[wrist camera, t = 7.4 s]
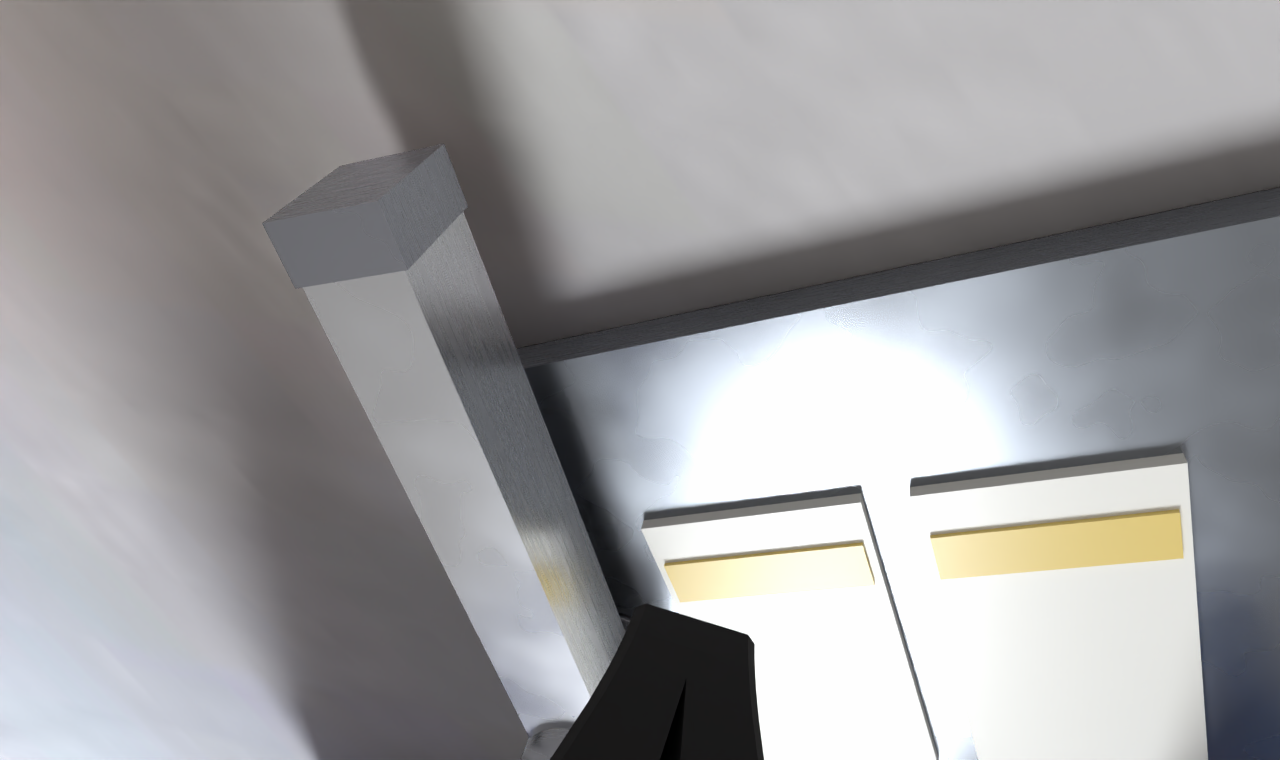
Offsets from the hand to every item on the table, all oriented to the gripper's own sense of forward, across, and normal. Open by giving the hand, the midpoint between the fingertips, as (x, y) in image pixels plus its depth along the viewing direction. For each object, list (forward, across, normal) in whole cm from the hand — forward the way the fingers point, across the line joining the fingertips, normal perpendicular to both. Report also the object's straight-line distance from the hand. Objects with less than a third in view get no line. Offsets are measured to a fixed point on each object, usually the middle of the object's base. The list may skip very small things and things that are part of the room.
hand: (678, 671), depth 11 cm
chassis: (+9, -5, +6) cm, 12 cm away
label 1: (+8, -3, +8) cm, 12 cm away
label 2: (+8, -8, +5) cm, 13 cm away
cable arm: (+8, +4, +5) cm, 10 cm away
